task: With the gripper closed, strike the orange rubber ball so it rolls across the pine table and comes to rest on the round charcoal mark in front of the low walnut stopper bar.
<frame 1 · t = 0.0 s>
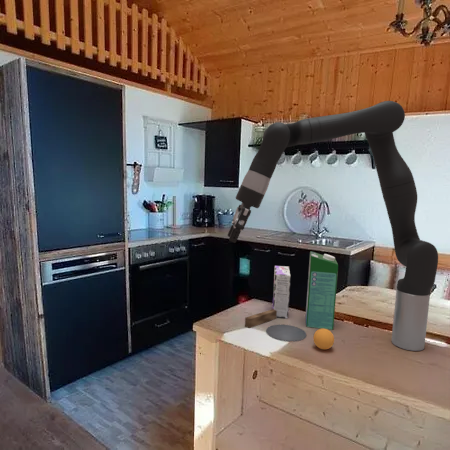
hand: (231, 239, 107), 31 cm above the table, tool tilted 20°, fingers open, 8 cm apart
stopper bar: (261, 322, 126), on the table
ball: (323, 338, 107), on the table
candy box: (279, 312, 137), on the table
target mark: (285, 332, 118), on the table
milk carton: (318, 324, 127), on the table
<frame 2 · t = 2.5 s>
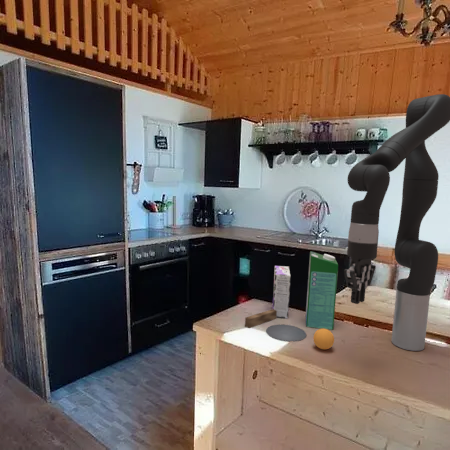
hand: (357, 301, 98), 17 cm above the table, tool pointing down, fingers closed
nothing on the table moved.
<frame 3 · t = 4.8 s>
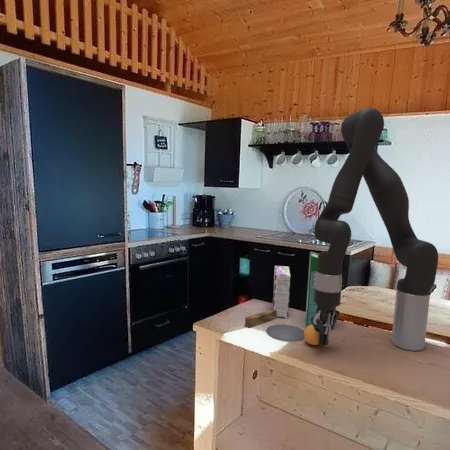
hand: (323, 344, 106), 2 cm above the table, tool pointing down, fingers closed
ball: (313, 334, 110), on the table
everything else where it was.
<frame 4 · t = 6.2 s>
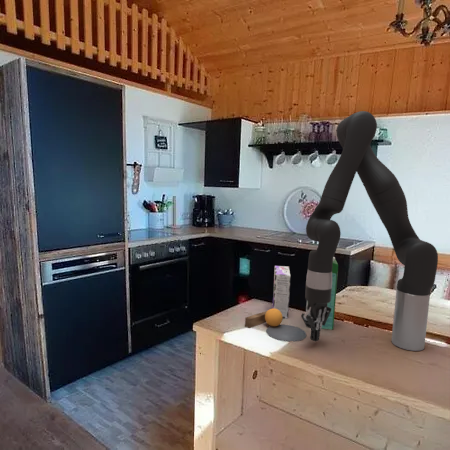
hand: (314, 340, 109), 2 cm above the table, tool pointing down, fingers closed
ball: (273, 317, 123), on the table
everything else where it was.
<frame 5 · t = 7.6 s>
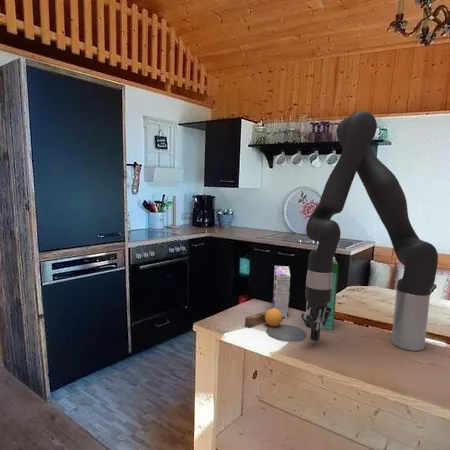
hand: (314, 340, 109), 2 cm above the table, tool pointing down, fingers closed
nothing on the table moved.
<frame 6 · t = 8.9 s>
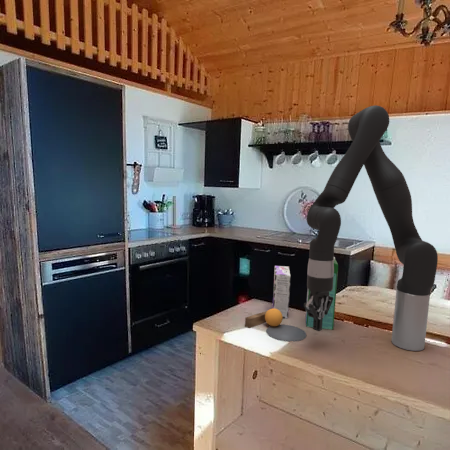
hand: (317, 329, 109), 5 cm above the table, tool pointing down, fingers closed
nothing on the table moved.
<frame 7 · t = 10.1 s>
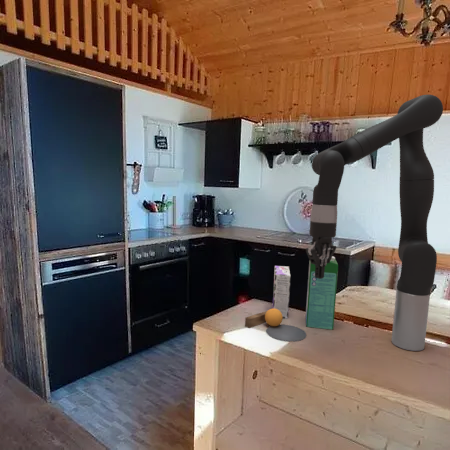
hand: (319, 277, 107), 21 cm above the table, tool pointing down, fingers closed
nothing on the table moved.
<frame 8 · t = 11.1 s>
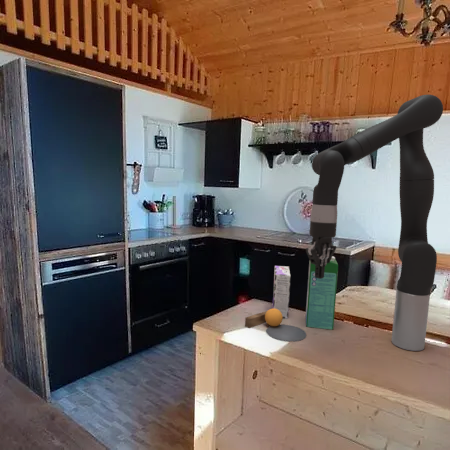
hand: (319, 277, 107), 21 cm above the table, tool pointing down, fingers closed
nothing on the table moved.
at the end: ball 6.5 cm from the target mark (horizontally); ball at rest at the end (0.0 cm/s); ball moved 20.4 cm from its start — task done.
